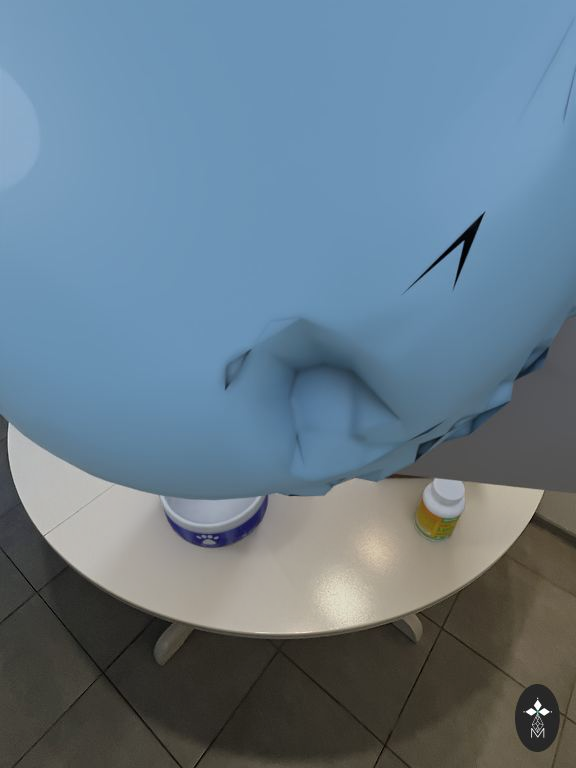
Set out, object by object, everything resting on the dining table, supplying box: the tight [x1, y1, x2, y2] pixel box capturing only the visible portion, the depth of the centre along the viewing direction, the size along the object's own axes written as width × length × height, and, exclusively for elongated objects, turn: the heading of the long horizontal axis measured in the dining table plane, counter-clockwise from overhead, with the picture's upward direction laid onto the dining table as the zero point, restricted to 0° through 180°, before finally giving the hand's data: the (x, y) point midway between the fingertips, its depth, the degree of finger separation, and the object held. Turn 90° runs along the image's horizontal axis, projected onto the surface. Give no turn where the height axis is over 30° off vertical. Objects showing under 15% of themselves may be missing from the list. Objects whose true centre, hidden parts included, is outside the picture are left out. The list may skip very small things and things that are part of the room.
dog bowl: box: [158, 495, 269, 548], centre depth 65 cm, size 15×15×6 cm
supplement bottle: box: [413, 478, 466, 542], centre depth 61 cm, size 5×5×10 cm
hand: (412, 385), depth 38 cm, fingers open, 13 cm apart
